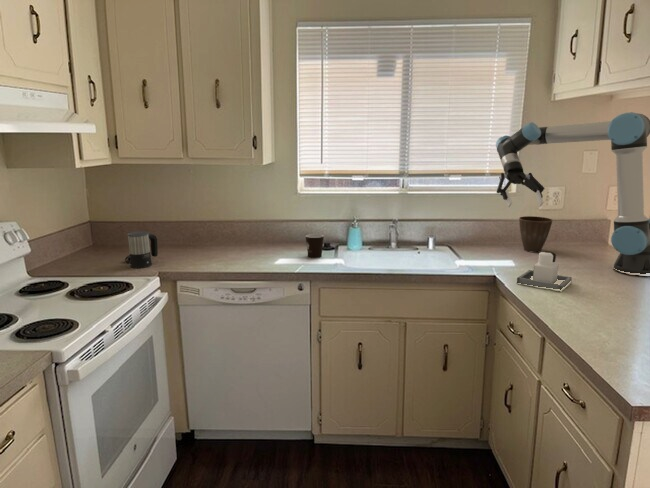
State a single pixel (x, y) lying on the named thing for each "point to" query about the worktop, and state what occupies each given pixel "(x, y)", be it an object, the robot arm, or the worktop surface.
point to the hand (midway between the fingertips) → (525, 205)
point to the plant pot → (534, 232)
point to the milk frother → (141, 249)
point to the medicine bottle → (546, 267)
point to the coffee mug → (314, 245)
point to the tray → (526, 280)
